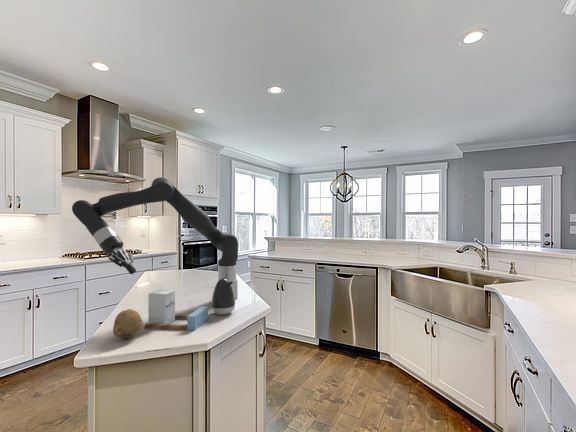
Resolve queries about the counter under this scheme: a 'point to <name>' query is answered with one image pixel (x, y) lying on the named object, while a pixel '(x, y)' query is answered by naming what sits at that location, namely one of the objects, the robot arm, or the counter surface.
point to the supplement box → (161, 307)
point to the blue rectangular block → (197, 318)
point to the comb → (169, 326)
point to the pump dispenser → (223, 297)
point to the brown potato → (127, 324)
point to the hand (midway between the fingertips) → (133, 272)
